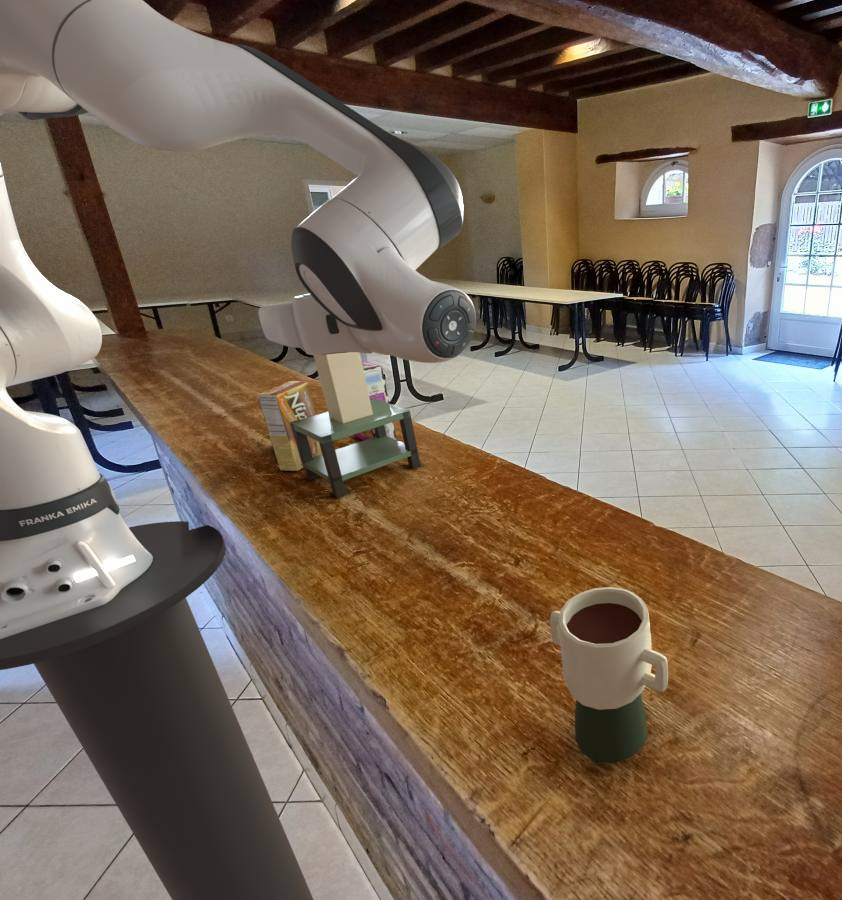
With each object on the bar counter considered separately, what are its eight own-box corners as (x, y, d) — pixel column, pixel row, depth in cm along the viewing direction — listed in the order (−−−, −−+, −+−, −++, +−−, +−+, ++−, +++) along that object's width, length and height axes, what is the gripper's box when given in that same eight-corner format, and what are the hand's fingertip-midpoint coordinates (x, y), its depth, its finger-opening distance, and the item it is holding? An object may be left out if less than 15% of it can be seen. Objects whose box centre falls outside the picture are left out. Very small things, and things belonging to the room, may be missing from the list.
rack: (337, 497, 93) (321, 437, 89) (306, 478, 102) (289, 422, 97) (420, 465, 104) (409, 410, 100) (386, 450, 112) (375, 398, 108)
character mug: (687, 733, 47) (688, 611, 42) (646, 802, 42) (642, 672, 37) (583, 683, 53) (574, 570, 48) (536, 738, 48) (519, 617, 43)
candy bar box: (399, 440, 117) (383, 364, 111) (377, 448, 114) (359, 370, 108) (373, 430, 124) (357, 358, 118) (352, 436, 121) (334, 363, 115)
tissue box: (343, 423, 95) (324, 347, 90) (329, 417, 99) (310, 344, 93) (373, 414, 99) (356, 341, 94) (359, 409, 102) (342, 338, 97)
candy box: (308, 453, 113) (288, 380, 107) (327, 453, 113) (307, 380, 107) (279, 471, 105) (255, 394, 99) (299, 471, 105) (276, 394, 99)
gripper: (446, 277, 72) (392, 275, 80) (280, 299, 58) (236, 294, 66) (454, 326, 74) (401, 319, 83) (296, 359, 60) (252, 346, 69)
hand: (326, 308), depth 74 cm, fingers open, 8 cm apart
